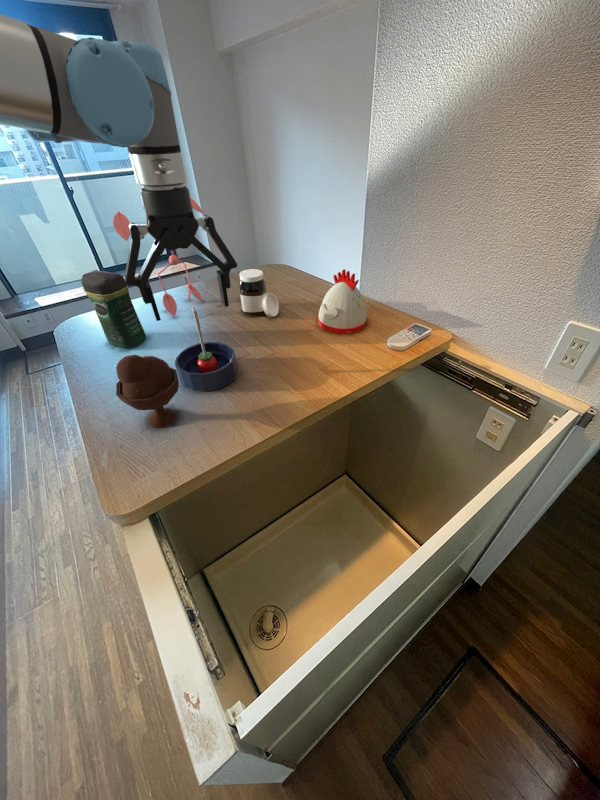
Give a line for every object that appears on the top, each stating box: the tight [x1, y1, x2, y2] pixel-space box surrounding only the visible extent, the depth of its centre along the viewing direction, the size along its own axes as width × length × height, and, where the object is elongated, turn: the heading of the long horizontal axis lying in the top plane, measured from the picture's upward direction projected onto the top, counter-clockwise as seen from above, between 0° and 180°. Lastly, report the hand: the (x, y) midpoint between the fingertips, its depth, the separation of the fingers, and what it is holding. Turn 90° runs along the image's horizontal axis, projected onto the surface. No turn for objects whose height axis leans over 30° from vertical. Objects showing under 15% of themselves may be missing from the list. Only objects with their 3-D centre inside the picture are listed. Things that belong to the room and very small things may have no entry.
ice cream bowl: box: [115, 354, 180, 429], centre depth 61 cm, size 11×11×15 cm
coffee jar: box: [80, 269, 147, 349], centre depth 83 cm, size 10×8×19 cm
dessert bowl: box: [174, 341, 239, 392], centre depth 75 cm, size 13×13×5 cm
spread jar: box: [238, 268, 280, 318], centre depth 97 cm, size 12×11×12 cm
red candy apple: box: [191, 306, 219, 373], centre depth 71 cm, size 5×5×16 cm
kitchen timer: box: [317, 268, 368, 335], centre depth 90 cm, size 14×14×15 cm
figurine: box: [112, 186, 218, 320], centre depth 91 cm, size 15×26×35 cm, turn 147°
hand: (192, 310), depth 66 cm, fingers open, 13 cm apart
